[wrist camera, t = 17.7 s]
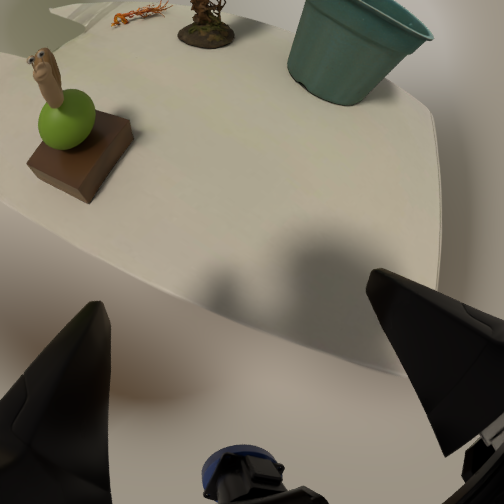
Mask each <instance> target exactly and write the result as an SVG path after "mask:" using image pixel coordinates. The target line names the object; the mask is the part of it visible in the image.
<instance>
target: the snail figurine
mask: <svg viewBox="0 0 504 504" xmlns="http://www.w3.org/2000/svg"><path fill="white" fill-rule="evenodd" d="M33 62H34V65H33ZM27 63H28V64H32V66H33V68H34V71H33V77H34V79H35V81H36V82H37V83H38V85H39V88H40V91H41V93H42V95H43V97H44V99H45V100H46V104H45V105H44V107H43V108H42V110H41V113H40V116H39V121H38V129H39V133H40V136H41V138H42V140H43V141H44V142H45V143H46V144H47V145H48V146H49V147H51V148H53V149H57V150H67V149H71V148H73V147H75V146H77V145H79V144H80V143H81V142H83V141H84V140H85V139H86V138H87V136H88V135H89V134H90V132H91V130H92V128H93V125H94V122H95V115H96V113H95V106H94V103H93V101H92V100H91V98H90V97H89V96H88V95H87V94H86V93H84V92H83V91H80V90H77V89H67V90H63V91H62V88H61V75H60V72H59V69H58V66H57V63H56V60H55V57H54V55H53V54H52V53H51V51H50V50H49V49H48V48H42V49H40V50H39V51H38V52H37V53H36V54H35V57H34V56H29V57H28V59H27Z"/></svg>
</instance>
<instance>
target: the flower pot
mask: <svg viewBox="0 0 504 504" xmlns="http://www.w3.org/2000/svg"><path fill="white" fill-rule="evenodd" d="M433 39H434V37H433V35H432V33H431V32H430V31H429V30H428V29H427V27H426V26H425V25H424V24H423V23H422V22H421V21H420V20H419V19H417V18H416V17H415V16H414V15H413V14H411V13H410V12H409V11H408V10H407V9H405V8H404V7H403V6H401V5H400V4H398V3H397V2H396V1H394V0H306V2H305V5H304V8H303V12H302V15H301V18H300V22H299V25H298V28H297V31H296V35H295V38H294V41H293V45H292V48H291V52H290V55H289V58H288V63H287V65H288V69H289V72H290V74H291V75H292V77H293V78H294V79H295V80H296V81H297V82H301V83H303V84H304V85H305V87H306V88H307V90H308V91H309V92H311V93H313V94H314V95H316V96H318V97H320V98H322V99H325V100H327V101H330V102H333V103H336V104H341V105H354V104H356V103H358V102H360V101H362V100H363V99H364V98H365V97H366V96H367V94H368V93H369V92H370V91H371V90H372V89H373V88H374V87H375V86H376V85H377V84H378V83H379V82H380V81H381V80H382V79H383V78H384V77H385V76H386V75H387V74H388V73H389V72H390V71H391V70H392V69H393V68H394V67H395V66H396V65H397V64H398V63H399V62H400V61H401V60H403V59H404V57H406V56H407V55H409V54H412V53H413V52H414V51H415V50H416V49H418V48H419V47H420V46H421V45H422V44H423V43H424V42H425V41H426V40H427V41H432V40H433Z"/></svg>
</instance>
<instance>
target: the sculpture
mask: <svg viewBox="0 0 504 504" xmlns="http://www.w3.org/2000/svg"><path fill="white" fill-rule="evenodd" d="M217 1H218V0H217ZM224 1H225V0H224ZM190 2H191V3H192V4H193V5H192V8H191V10H194V11H195V12H196V13H197V14H195V15H194V17H192V18H193V21H194V22H193V23H192V24H190V25H188V26H186V27H184V28H183V29H182V30H180V31H179V33H178V38H179V39H180V40H183V41H185V43H186V44H190V45H194V46H198V47H205V48H217V47H220V46H223V45H226V44H228V43H230V42H232V40H233V39H234V31H233V30H232V29H231V28H230V27H229V26H228V25H226V24H225V23H223V22H221V16H220V11H221V10H222V8H223V7H224V5H225V4H226V1H225V3H224V5H223V6H221V0H220V1H218V5H215V4H213V3H212V2H211V1H209V0H191V1H190ZM209 2H210V6H209V5H208V4H209ZM211 4H212V5H214V6H212V5H211ZM211 10H213V12H214V11H215V10H217V11H218V12H219V13H216V12H214V13H215V14H216V15H218V17H216V16H214V15H213V13H212V12H211Z"/></svg>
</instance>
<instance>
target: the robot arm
mask: <svg viewBox="0 0 504 504" xmlns="http://www.w3.org/2000/svg"><path fill="white" fill-rule="evenodd" d="M366 294H367V296H368V299H369V301H370V303H371V305H372V307H373V309H374V311H375V314H376V316H377V318H378V320H379V323H380V325H381V327H382V329H383V330H384V332H385V334H386V336H387V338H388V340H389V341H390V343H391V345H392V347H393V349H394V350H395V352H396V354H397V356H398V358H399V360H400V362H401V364H402V366H403V367H404V369H405V371H406V373H407V375H408V377H409V379H410V381H411V383H412V385H413V387H414V389H415V391H416V393H417V395H418V398H419V400H420V402H421V403H422V406H423V408H424V410H425V412H426V414H427V417H428V419H429V422H430V424H431V426H432V428H433V431H434V433H435V435H436V438H437V440H438V442H439V445H440V447H441V450H442V452H443V455H444V456H445V457H447V456H449V455H450V454H452V453H453V452H455V451H456V450H458V449H459V448H461V447H462V446H463V445H465V444H466V443H467V442H469V441H470V440H471V439H473V438H474V437H475V436H477V435H478V434H479V435H480V438H478V439H477V440H476V441H475V443H473V445H471V446H470V447H469V448H468V449H467V450H466V451H465V458H464V464H463V470H462V475H461V476H462V478H463V480H464V482H465V484H464V485H463V486H462V487H461V488H460V489H459V490H458V491H456V492H455V493H454V494H453V495H452V496H451V497H449V498H448V499H447V500H446V501H445V502H444V503H442V504H504V320H502V319H499V318H497V317H494V316H492V315H489V314H487V313H484V312H482V311H480V310H477V309H475V308H473V307H471V306H468V305H466V304H464V303H461V302H460V301H457V300H455V299H453V298H451V297H449V296H446V295H444V294H442V293H439V292H437V291H435V290H433V289H430V288H428V287H426V286H424V285H421V284H419V283H417V282H414V281H412V280H410V279H407V278H405V277H403V276H400V275H398V274H396V273H393V272H391V271H388V270H386V269H384V268H378V269H373V270H372V271H371V273H370V276H369V279H368V282H367V286H366ZM110 375H111V324H110V320H109V317H108V315H107V312H106V309H105V307H104V304H103V302H101V301H91V302H89V303H88V304H86V306H84V308H82V309H81V311H80V312H79V313H78V314H77V315H76V316H75V317H74V318H73V319H72V320H71V321H70V322H69V323H68V324H67V325H66V326H65V327H64V328H63V329H62V330H61V331H60V333H58V335H57V336H56V337H55V338H54V339H53V340H52V341H51V342H50V343H49V344H48V345H47V346H46V348H45V349H44V350H43V351H42V352H41V353H40V354H39V355H38V357H37V358H36V359H35V360H34V361H33V362H32V363H31V365H30V366H29V367H28V368H27V369H26V370H25V372H24V375H23V374H22V375H21V376H20V378H19V379H18V380H17V381H16V383H15V384H14V385H13V386H12V387H11V388H10V390H9V391H8V392H7V393H6V394H5V395H4V397H3V398H2V399H1V400H0V504H112V497H111V493H110V492H111V489H110V476H109V459H108V410H109V391H110ZM226 456H230V457H229V458H225V457H226ZM279 467H281V468H280V469H278V468H279ZM284 469H285V467H284V466H283V465H282V464H280V463H274V462H271V460H268V459H263V458H258V457H254V456H250V455H246V456H242V455H238V454H234V453H230V452H225V453H223V454H222V456H221V458H220V460H219V462H218V464H217V466H216V468H215V470H214V472H213V474H212V476H211V478H210V480H209V482H208V484H207V486H206V488H205V490H204V492H203V496H204V497H205V498H207V499H210V500H215V501H218V504H329V503H328V501H327V500H326V499H325V498H324V497H323V496H322V495H320V494H318V493H316V492H314V491H312V490H310V489H309V488H307V487H305V486H301V487H298V488H296V489H292V490H289V491H287V489H286V488H285V486H284V485H283V483H282V481H283V479H282V477H281V475H282V473H283V471H284ZM206 494H210V495H206Z"/></svg>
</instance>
